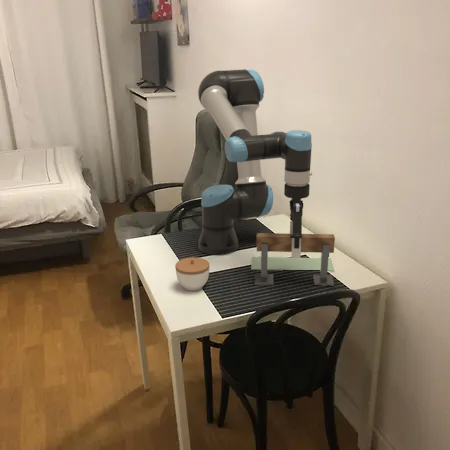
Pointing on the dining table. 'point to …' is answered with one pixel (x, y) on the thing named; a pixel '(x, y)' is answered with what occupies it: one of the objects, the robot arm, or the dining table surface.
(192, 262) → the lidded jar
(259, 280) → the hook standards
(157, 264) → the dining table surface
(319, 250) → the walnut bar
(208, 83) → the robot arm
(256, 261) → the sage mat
